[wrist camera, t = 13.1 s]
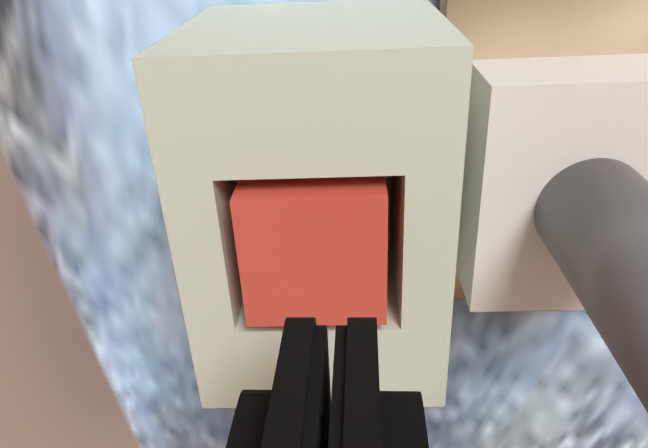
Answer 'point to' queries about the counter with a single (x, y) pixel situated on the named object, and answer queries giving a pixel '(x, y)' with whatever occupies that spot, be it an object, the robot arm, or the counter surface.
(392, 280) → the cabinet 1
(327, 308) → the red block
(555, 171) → the carriage
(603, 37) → the rail track
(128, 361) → the counter surface
